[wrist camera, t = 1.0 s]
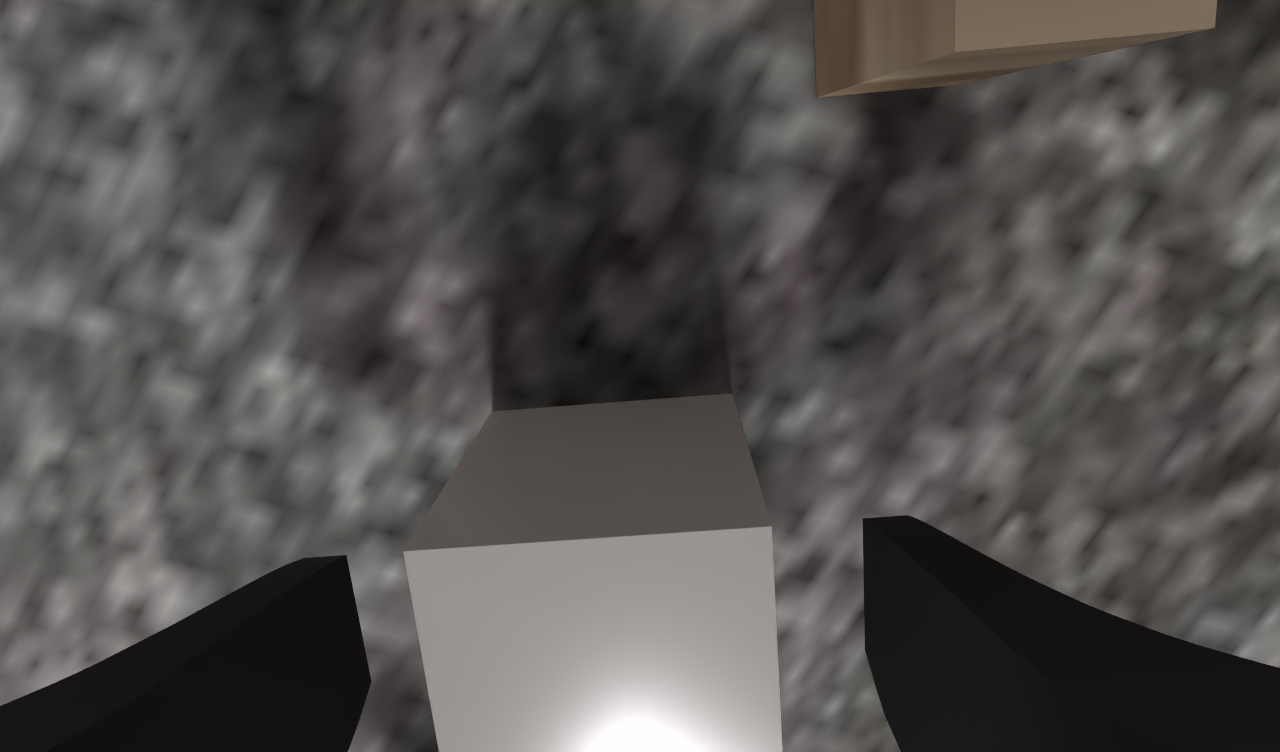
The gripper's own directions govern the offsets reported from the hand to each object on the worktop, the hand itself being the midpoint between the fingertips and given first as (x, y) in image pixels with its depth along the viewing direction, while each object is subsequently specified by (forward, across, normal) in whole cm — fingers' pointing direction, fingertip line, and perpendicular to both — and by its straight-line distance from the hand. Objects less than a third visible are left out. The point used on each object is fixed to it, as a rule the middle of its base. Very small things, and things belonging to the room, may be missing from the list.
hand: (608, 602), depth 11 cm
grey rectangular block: (+3, 0, 0) cm, 3 cm away
